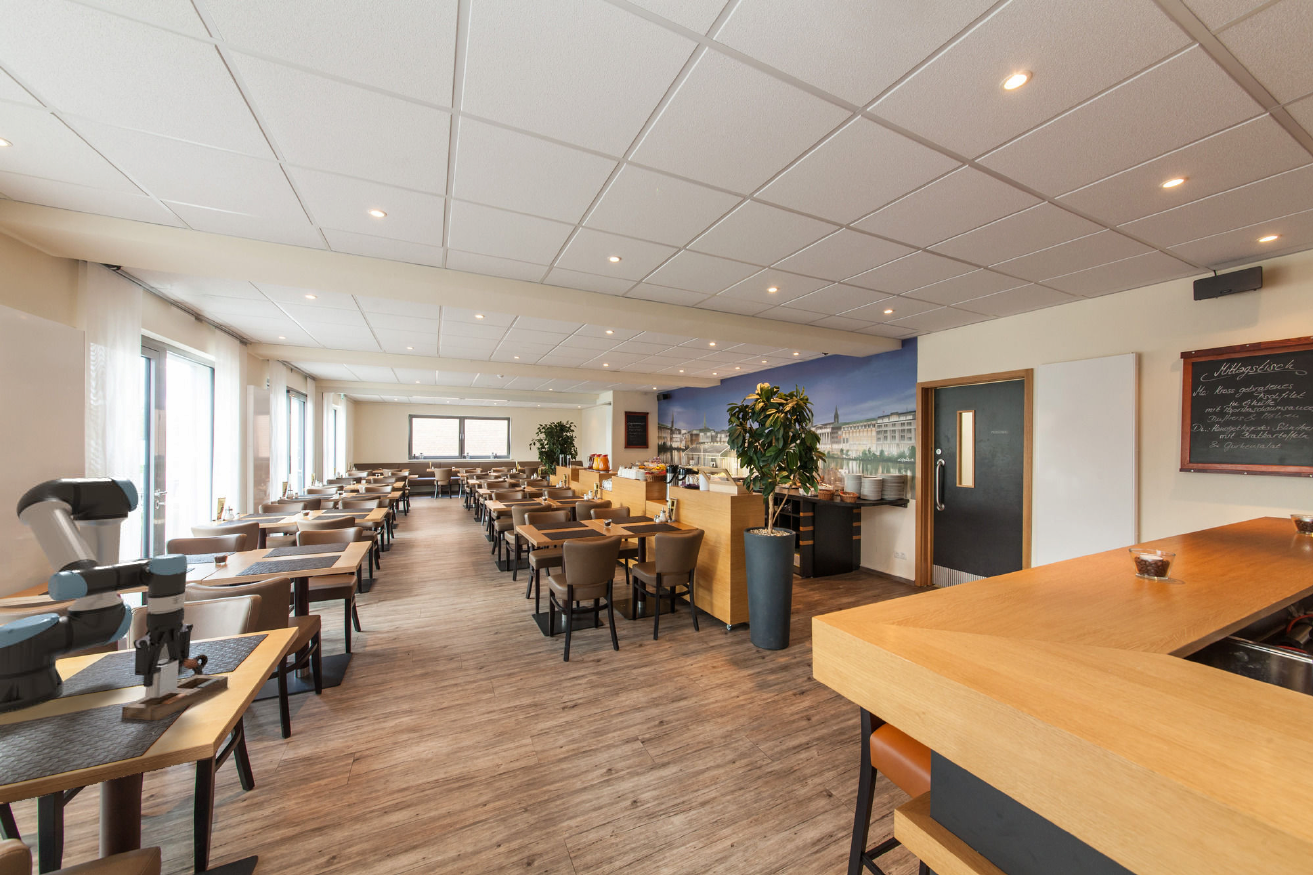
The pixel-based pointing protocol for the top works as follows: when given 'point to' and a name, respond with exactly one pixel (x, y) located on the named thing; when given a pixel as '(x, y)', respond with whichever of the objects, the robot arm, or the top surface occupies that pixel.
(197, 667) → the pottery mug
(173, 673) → the plug
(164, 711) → the socket board
